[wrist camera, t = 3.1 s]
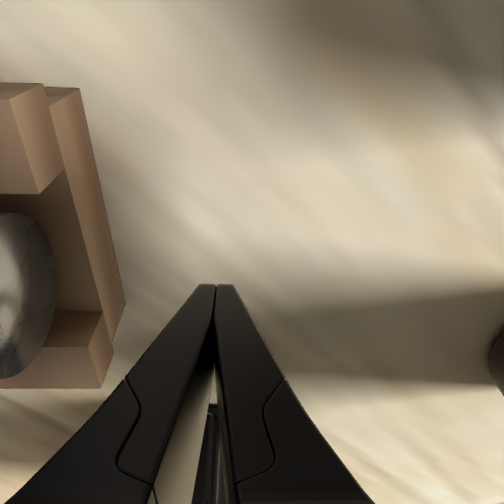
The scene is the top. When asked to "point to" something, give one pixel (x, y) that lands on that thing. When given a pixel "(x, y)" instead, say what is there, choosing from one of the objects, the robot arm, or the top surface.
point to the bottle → (498, 362)
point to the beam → (62, 230)
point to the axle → (24, 291)
